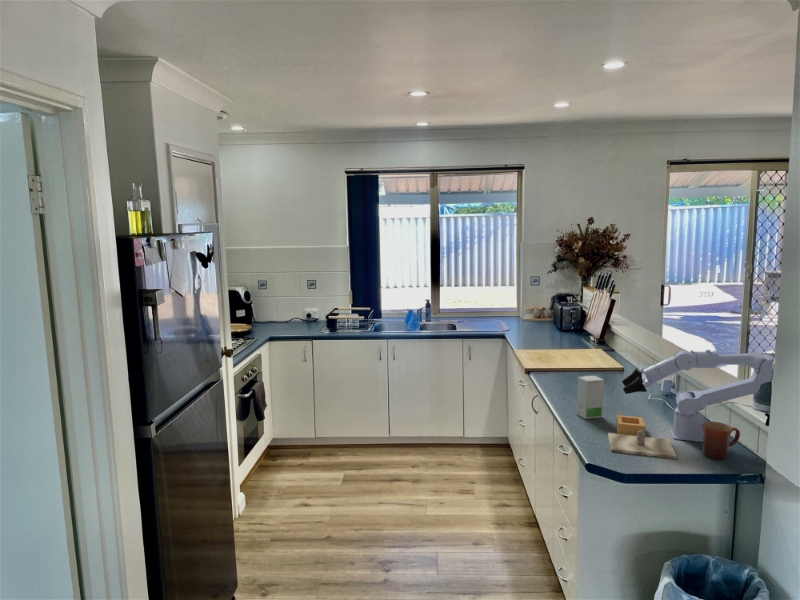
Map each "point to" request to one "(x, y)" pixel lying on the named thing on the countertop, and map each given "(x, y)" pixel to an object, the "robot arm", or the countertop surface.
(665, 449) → the plate
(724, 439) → the mug
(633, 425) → the wooden open tray
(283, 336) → the countertop surface
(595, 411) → the skincare box
